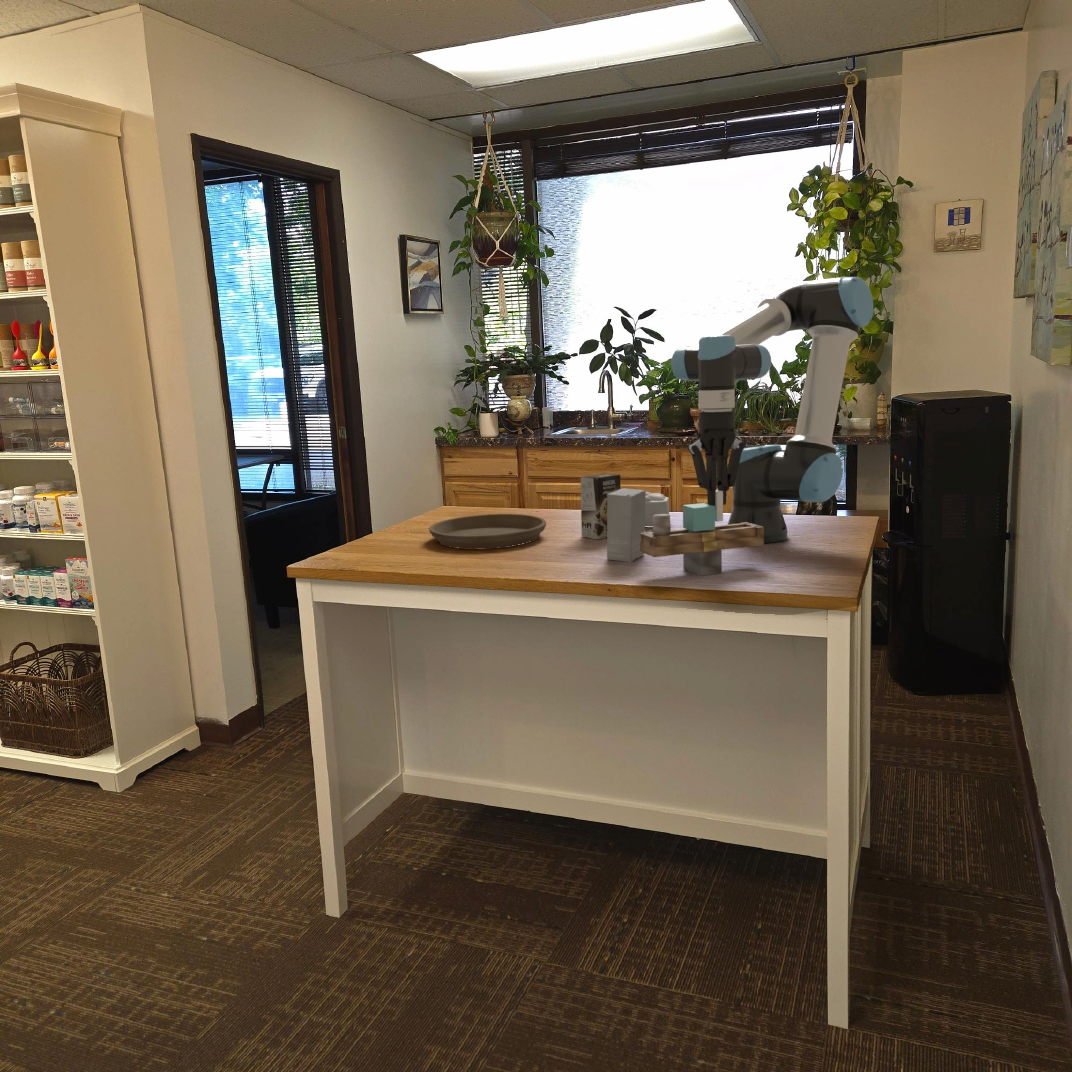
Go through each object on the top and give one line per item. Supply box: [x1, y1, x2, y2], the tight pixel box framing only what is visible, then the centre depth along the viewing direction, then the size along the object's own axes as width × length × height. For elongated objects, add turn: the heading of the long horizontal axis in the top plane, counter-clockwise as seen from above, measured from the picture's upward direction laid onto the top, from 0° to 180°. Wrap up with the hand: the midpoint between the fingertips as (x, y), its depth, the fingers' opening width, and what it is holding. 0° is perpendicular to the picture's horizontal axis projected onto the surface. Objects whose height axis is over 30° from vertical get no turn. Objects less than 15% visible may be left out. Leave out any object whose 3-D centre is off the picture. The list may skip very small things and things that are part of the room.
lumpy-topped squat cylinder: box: [645, 491, 670, 526], centre depth 260 cm, size 10×13×9 cm
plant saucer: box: [428, 513, 547, 549], centre depth 248 cm, size 31×31×5 cm
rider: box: [682, 502, 716, 533], centre depth 200 cm, size 5×5×7 cm
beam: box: [640, 514, 765, 577], centre depth 202 cm, size 26×8×13 cm, turn 108°
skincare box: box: [606, 487, 646, 563], centre depth 217 cm, size 8×7×16 cm
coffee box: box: [580, 473, 622, 540], centre depth 245 cm, size 9×6×16 cm
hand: (716, 520), depth 202 cm, fingers closed
